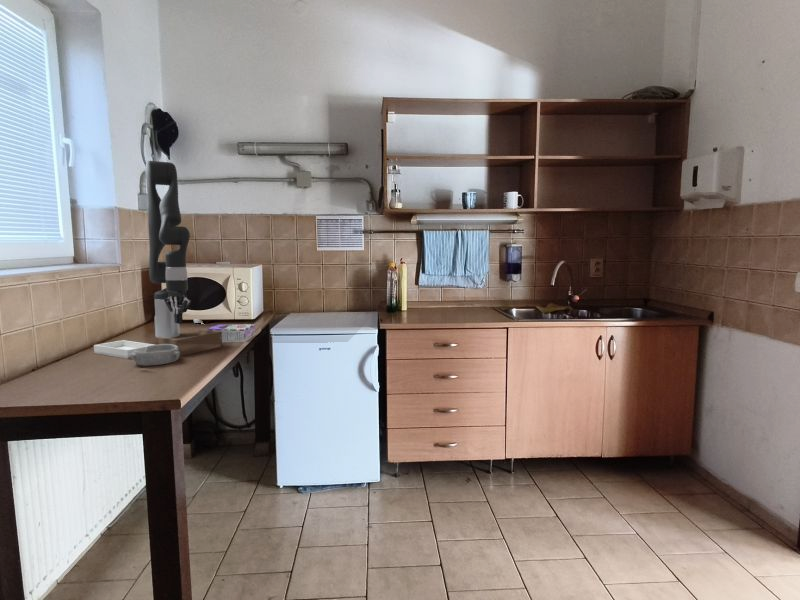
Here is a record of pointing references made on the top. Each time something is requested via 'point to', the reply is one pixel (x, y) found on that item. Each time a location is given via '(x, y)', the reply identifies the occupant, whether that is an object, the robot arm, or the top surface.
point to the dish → (156, 355)
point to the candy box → (235, 332)
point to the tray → (120, 348)
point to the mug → (198, 321)
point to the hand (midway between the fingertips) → (178, 323)
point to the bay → (195, 342)
